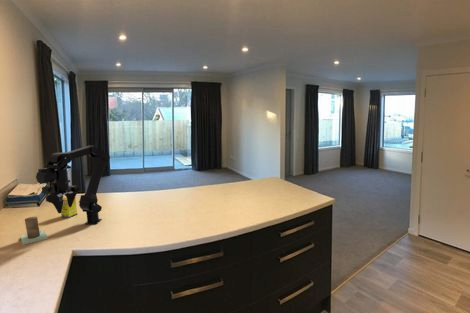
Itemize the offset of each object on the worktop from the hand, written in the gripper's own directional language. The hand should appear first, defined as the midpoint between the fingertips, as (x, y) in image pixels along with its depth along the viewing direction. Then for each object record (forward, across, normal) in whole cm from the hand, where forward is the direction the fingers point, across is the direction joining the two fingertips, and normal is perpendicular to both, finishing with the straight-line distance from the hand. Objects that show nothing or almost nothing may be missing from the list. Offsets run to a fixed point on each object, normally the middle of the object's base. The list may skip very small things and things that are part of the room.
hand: (65, 210), depth 152 cm
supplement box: (+12, -25, -13) cm, 31 cm away
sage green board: (+12, +5, -14) cm, 19 cm away
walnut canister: (+11, +5, -14) cm, 18 cm away
